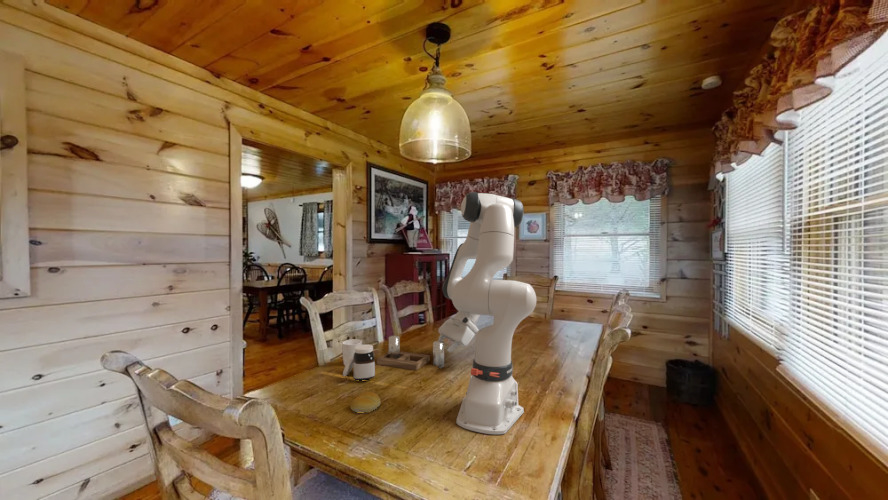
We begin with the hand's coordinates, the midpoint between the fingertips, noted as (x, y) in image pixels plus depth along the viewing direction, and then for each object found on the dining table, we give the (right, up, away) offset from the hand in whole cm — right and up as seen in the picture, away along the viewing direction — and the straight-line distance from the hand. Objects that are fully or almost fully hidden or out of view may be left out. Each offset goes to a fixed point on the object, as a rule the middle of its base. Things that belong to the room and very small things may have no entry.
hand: (443, 347), depth 139 cm
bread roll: (-24, -8, -35) cm, 43 cm away
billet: (-2, -7, -1) cm, 8 cm away
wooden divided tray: (-16, -7, +1) cm, 18 cm away
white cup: (-37, -8, 0) cm, 38 cm away
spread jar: (-32, -8, -12) cm, 35 cm away
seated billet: (-20, -6, +3) cm, 21 cm away
